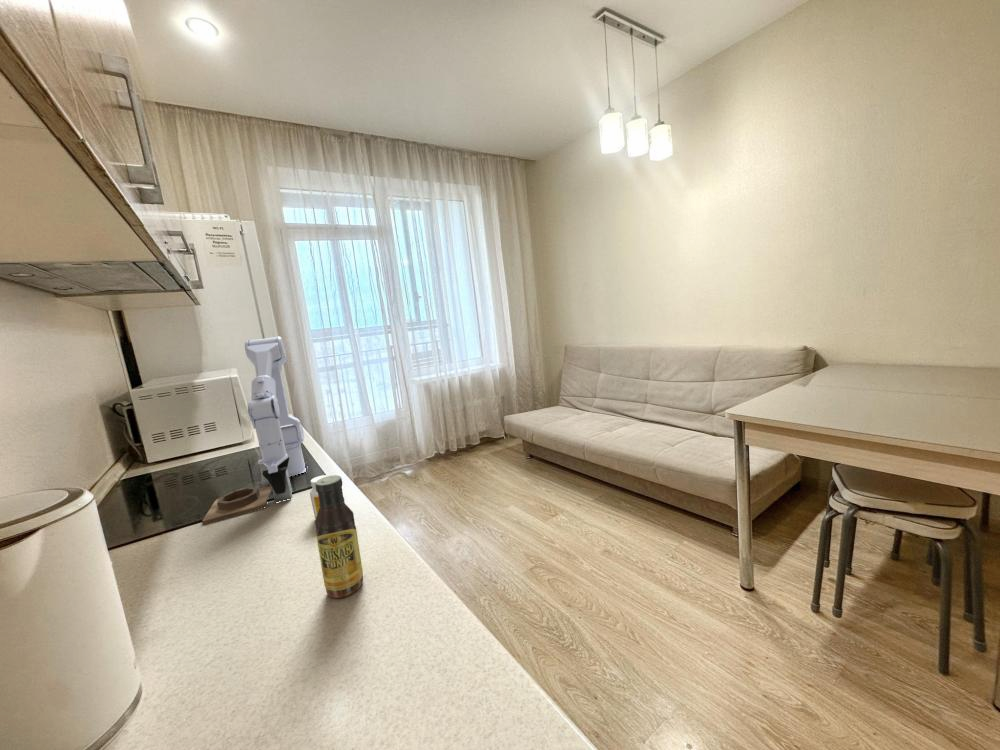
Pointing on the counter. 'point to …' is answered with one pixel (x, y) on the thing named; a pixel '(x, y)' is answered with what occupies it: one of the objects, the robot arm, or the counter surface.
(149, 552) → the counter surface
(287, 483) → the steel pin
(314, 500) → the supplement bottle
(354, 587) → the sauce bottle
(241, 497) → the holder board
